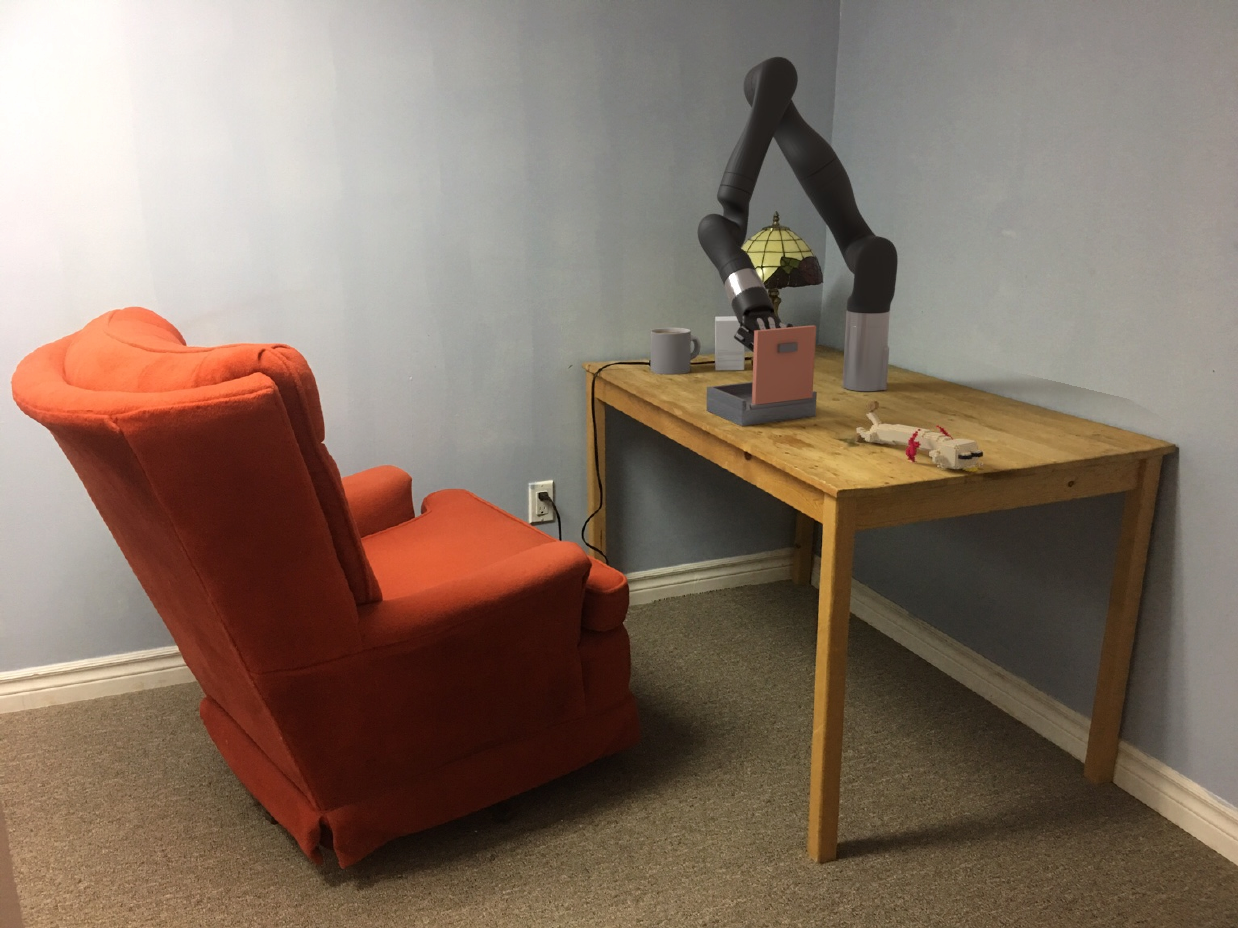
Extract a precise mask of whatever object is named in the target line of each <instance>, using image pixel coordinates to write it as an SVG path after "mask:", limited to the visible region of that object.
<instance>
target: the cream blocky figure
mask: <svg viewBox="0 0 1238 928" xmlns="http://www.w3.org/2000/svg"><path fill="white" fill-rule="evenodd" d="M878 409H880V402H878V400H873V399H872V400H870V402H868V403H867V405H866V408H865V414H866V417H867V418H868V420H871V422H872V424H871V427H870V428H869V430H867V429H865V428H864V427H861V426H860V427H856V434H854V435H853V440H854V441H856V442H858V443H863V442H868V443H877V444H881V445H884V444H889V445H893V446H894V445H895V446H896V445H901V446H902V445H903V446H907V447H906V449H905V456H906V457H908V458H907V459H908V460H909V461H911V462H912V463H918V460H916V456H917V449H919V451H924V452H928V455H929V457H930V458H931V457H932V459H931V462H932V463H935V464H937V468H942V469H950V470H951V469H953V470H961V469H962V471H967V472H976V471H978V467H981V466H984V462H978V461H979V458H982V457H984V452H983V451H982V449H979V445H978V444H977V442H976V440H973V439H972V440H971V439H968V438H967V439H966V438H953V437H952V435H950V434H949V433H948V431H947V430H946V429H945V427H942V426H940V425H939V424H937V425H936V426H935V427H936V428H938V429H939V432H935V431H934V432H933V431H932V430H931V429H927V428H921V427H916V426H910V425H906V424H905V425H904V424H899V423H897V424H890V423H882V421H881V419H880V417H878V415H877V413H876V412H875V411H877V410H878Z"/></svg>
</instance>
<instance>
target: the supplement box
mask: <svg viewBox="0 0 1238 928" xmlns="http://www.w3.org/2000/svg"><path fill="white" fill-rule="evenodd" d="M739 328H740V323H739V322H738V320H737V317H736V315H735V316H734V315H733V316H730V315H729V316H715V320H714V368H715V371H745V349H746V347H745V346H744V345H743V344H741V343H740V342H739V341H737V340H736V339H735V338H734V335H735V334H736V332H737V330H738V329H739Z"/></svg>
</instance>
